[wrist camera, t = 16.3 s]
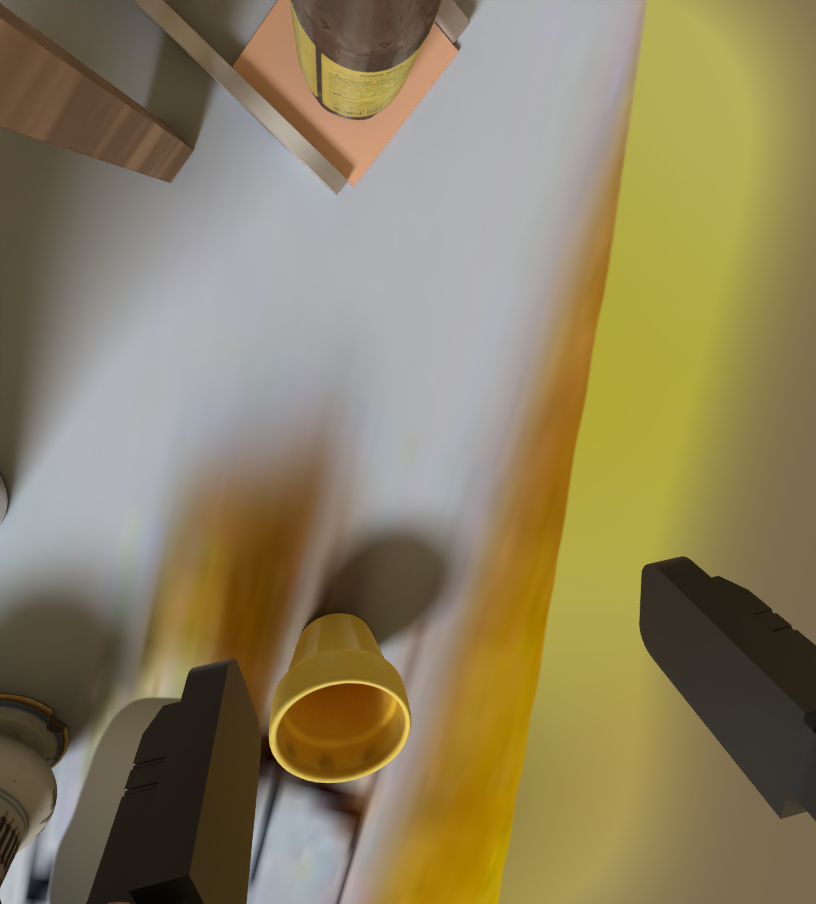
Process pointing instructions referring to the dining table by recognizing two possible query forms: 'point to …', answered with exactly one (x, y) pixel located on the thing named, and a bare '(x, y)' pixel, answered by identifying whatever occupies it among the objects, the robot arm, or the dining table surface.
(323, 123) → the pad
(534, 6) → the dining table surface
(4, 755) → the apothecary jar
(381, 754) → the plant pot
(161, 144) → the frame
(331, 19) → the sauce bottle
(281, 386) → the dining table surface
